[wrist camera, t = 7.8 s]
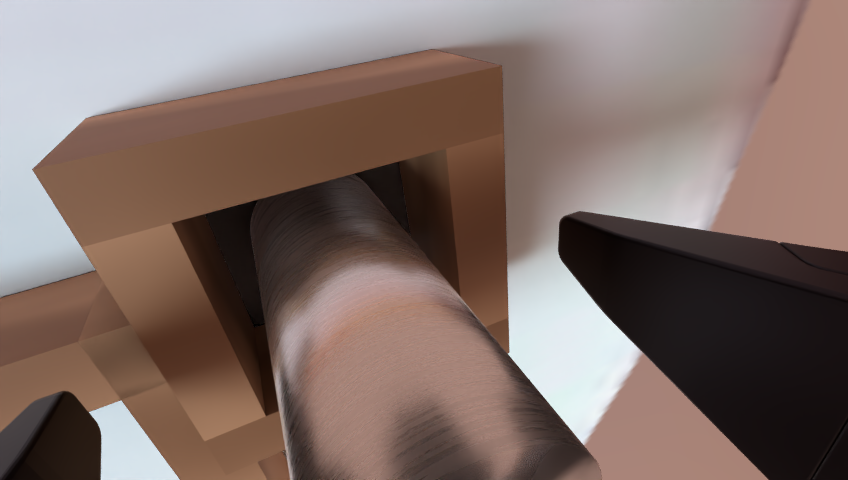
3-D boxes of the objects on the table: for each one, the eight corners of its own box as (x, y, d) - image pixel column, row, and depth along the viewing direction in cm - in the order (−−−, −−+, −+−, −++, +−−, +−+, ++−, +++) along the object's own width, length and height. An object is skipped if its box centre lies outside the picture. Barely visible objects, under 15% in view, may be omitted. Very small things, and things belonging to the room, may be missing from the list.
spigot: (389, 259, 12) (590, 555, 6) (273, 298, 11) (355, 700, 5) (368, 150, 10) (616, 393, 4) (229, 186, 10) (266, 570, 3)
